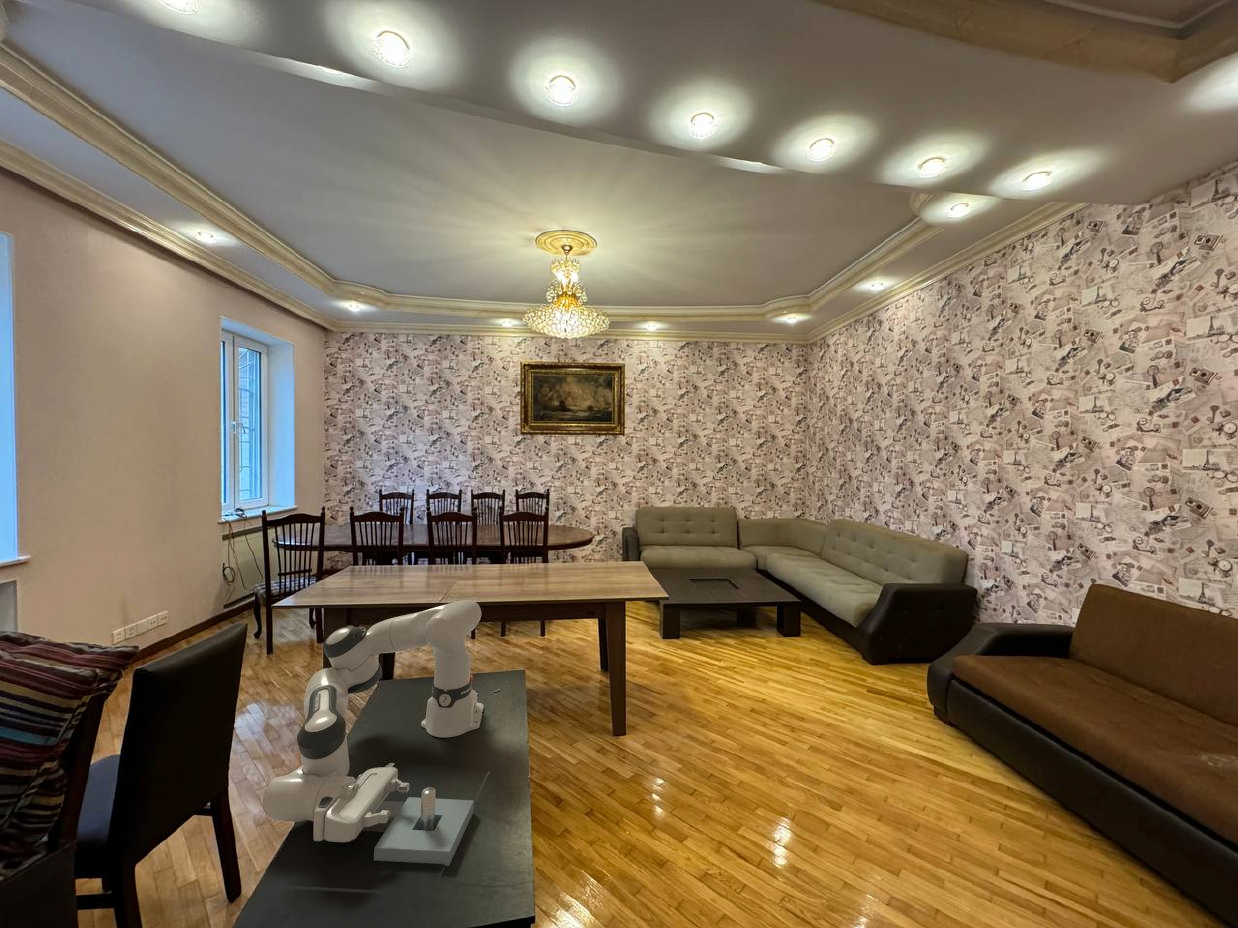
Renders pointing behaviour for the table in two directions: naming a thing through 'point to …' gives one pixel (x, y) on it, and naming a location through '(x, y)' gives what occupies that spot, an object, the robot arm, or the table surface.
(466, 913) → the table surface
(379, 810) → the rubber mat
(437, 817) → the grey square hole board
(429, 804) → the steel pin
